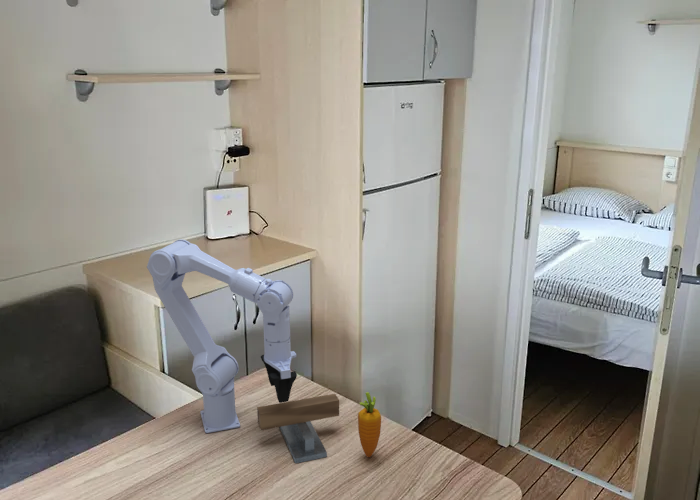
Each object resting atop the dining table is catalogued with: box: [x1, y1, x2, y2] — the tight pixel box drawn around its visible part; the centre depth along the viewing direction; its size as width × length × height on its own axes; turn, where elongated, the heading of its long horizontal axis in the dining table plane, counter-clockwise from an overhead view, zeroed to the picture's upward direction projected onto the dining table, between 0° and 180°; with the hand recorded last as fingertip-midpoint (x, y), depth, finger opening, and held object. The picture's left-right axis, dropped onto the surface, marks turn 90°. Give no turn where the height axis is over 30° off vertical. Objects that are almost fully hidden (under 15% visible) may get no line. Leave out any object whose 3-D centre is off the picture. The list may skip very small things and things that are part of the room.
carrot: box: [357, 391, 382, 458], centre depth 134 cm, size 5×5×15 cm
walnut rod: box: [256, 393, 340, 431], centre depth 141 cm, size 3×18×4 cm, turn 110°
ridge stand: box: [278, 421, 328, 465], centre depth 143 cm, size 18×7×5 cm, turn 20°
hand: (279, 392), depth 142 cm, fingers open, 7 cm apart
